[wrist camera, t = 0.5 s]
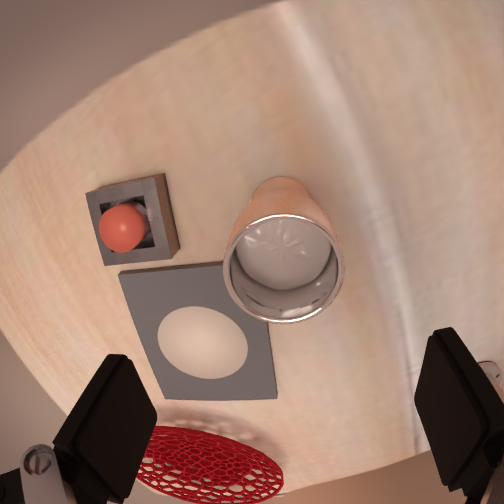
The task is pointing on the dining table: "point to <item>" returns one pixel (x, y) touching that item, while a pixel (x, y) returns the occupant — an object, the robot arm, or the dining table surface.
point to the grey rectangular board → (199, 334)
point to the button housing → (159, 213)
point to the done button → (124, 226)
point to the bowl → (207, 466)
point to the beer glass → (283, 255)
